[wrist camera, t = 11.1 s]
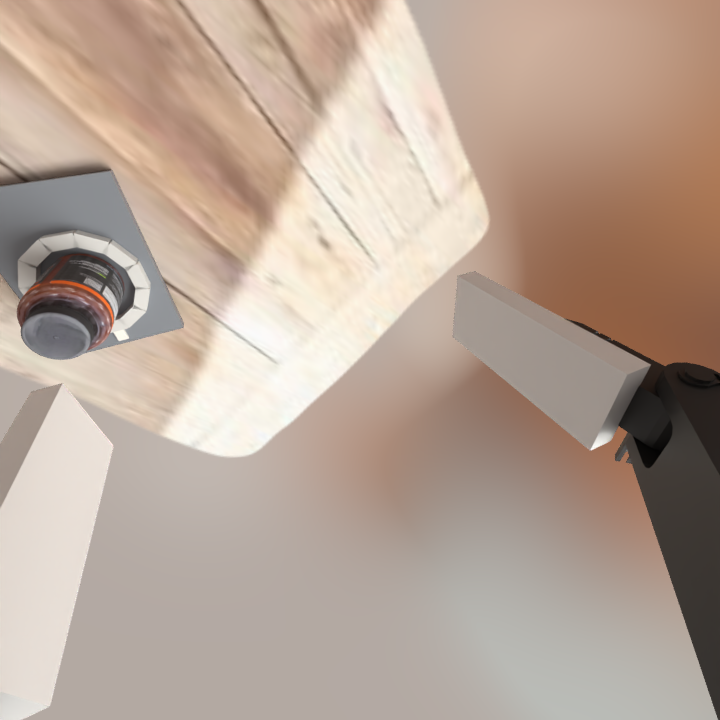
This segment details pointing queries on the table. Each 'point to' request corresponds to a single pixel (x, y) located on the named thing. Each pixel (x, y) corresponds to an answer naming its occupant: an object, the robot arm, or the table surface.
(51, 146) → the table surface
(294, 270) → the table surface
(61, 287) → the supplement bottle
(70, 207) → the hub board
